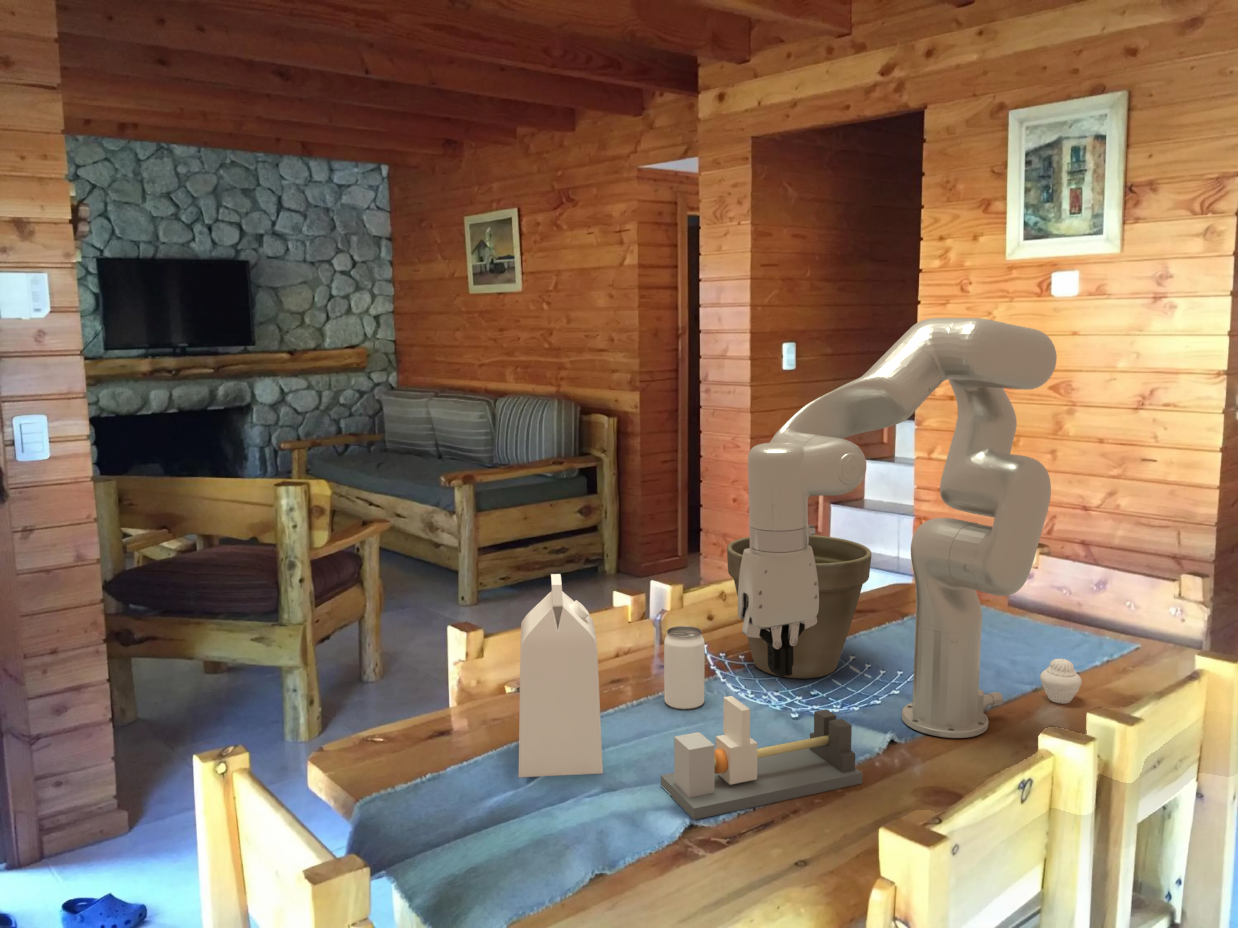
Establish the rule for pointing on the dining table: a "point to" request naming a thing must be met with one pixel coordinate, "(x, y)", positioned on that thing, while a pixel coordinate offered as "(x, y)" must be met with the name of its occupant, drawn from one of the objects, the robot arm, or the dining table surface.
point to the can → (684, 667)
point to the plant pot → (839, 593)
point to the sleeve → (737, 743)
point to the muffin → (1060, 681)
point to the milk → (559, 689)
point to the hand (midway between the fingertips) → (780, 672)
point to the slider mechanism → (763, 770)
